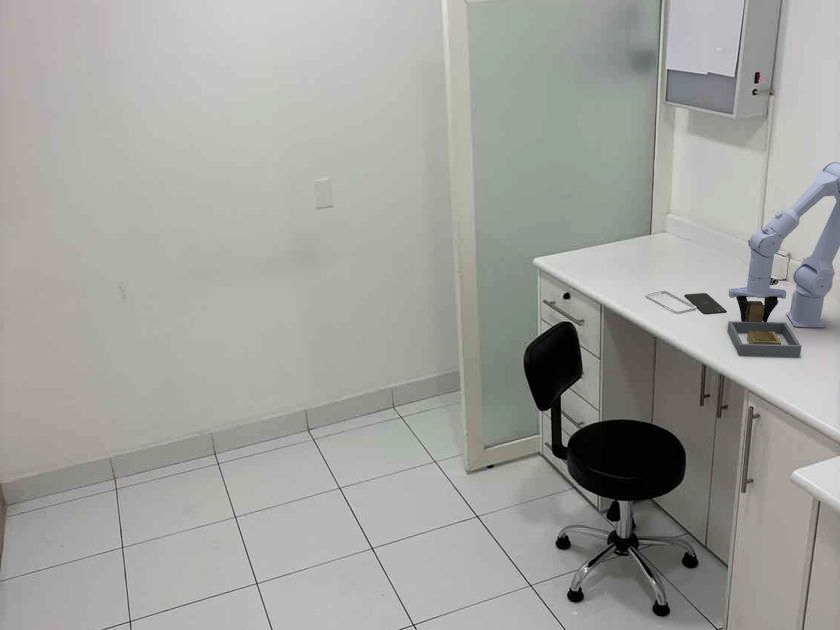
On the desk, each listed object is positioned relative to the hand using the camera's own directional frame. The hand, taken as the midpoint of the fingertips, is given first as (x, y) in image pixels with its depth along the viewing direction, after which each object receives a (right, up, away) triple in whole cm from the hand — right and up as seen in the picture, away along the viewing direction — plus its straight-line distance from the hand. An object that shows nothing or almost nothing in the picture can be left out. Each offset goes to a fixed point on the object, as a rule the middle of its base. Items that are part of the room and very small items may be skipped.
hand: (753, 321), depth 236 cm
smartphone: (-8, +5, +17) cm, 19 cm away
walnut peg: (0, -2, +1) cm, 2 cm away
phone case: (-18, +5, +18) cm, 26 cm away
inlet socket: (-1, -6, -10) cm, 12 cm away
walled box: (-1, -6, -9) cm, 11 cm away
